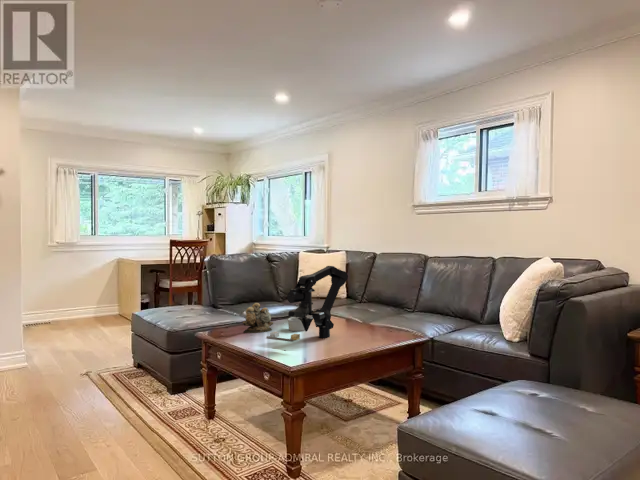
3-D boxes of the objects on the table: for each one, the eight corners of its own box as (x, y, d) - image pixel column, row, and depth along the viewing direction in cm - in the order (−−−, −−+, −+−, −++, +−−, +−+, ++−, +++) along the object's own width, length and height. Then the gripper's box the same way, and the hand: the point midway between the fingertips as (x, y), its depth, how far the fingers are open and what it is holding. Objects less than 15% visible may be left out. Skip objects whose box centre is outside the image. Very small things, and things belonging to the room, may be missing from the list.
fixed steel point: (274, 335, 241) (274, 331, 241) (279, 336, 239) (279, 332, 239) (268, 338, 236) (268, 333, 236) (272, 338, 234) (272, 334, 234)
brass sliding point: (294, 338, 234) (294, 333, 234) (299, 338, 233) (299, 334, 233) (289, 340, 230) (289, 335, 230) (294, 341, 228) (294, 336, 228)
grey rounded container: (309, 333, 252) (309, 319, 252) (291, 334, 248) (291, 320, 248) (301, 328, 265) (301, 315, 265) (283, 330, 261) (283, 316, 261)
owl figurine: (246, 336, 244) (245, 305, 244) (238, 333, 255) (238, 303, 254) (276, 333, 253) (276, 302, 253) (268, 329, 264) (267, 300, 263)
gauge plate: (277, 335, 246) (277, 331, 246) (306, 339, 237) (306, 335, 237) (262, 341, 234) (262, 336, 234) (292, 345, 225) (292, 340, 225)
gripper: (282, 301, 226) (282, 332, 226) (314, 304, 217) (314, 336, 217) (293, 298, 236) (294, 328, 236) (325, 301, 227) (325, 331, 227)
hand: (306, 331), depth 229 cm, fingers closed
